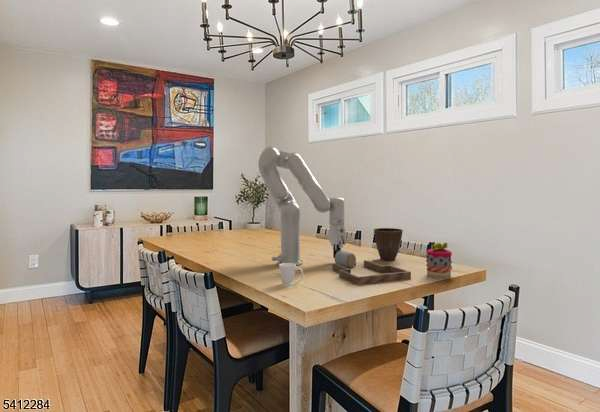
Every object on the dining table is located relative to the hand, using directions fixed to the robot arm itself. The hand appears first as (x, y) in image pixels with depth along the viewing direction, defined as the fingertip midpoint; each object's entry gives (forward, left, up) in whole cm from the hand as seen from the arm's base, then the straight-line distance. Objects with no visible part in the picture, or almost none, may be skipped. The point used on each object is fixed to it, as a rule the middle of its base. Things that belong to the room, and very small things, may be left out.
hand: (336, 257), depth 200 cm
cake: (+28, -42, -3) cm, 50 cm away
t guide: (0, -27, -3) cm, 28 cm away
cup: (-37, -31, -3) cm, 48 cm away
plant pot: (+29, -3, -3) cm, 29 cm away
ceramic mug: (+1, -8, -3) cm, 9 cm away
